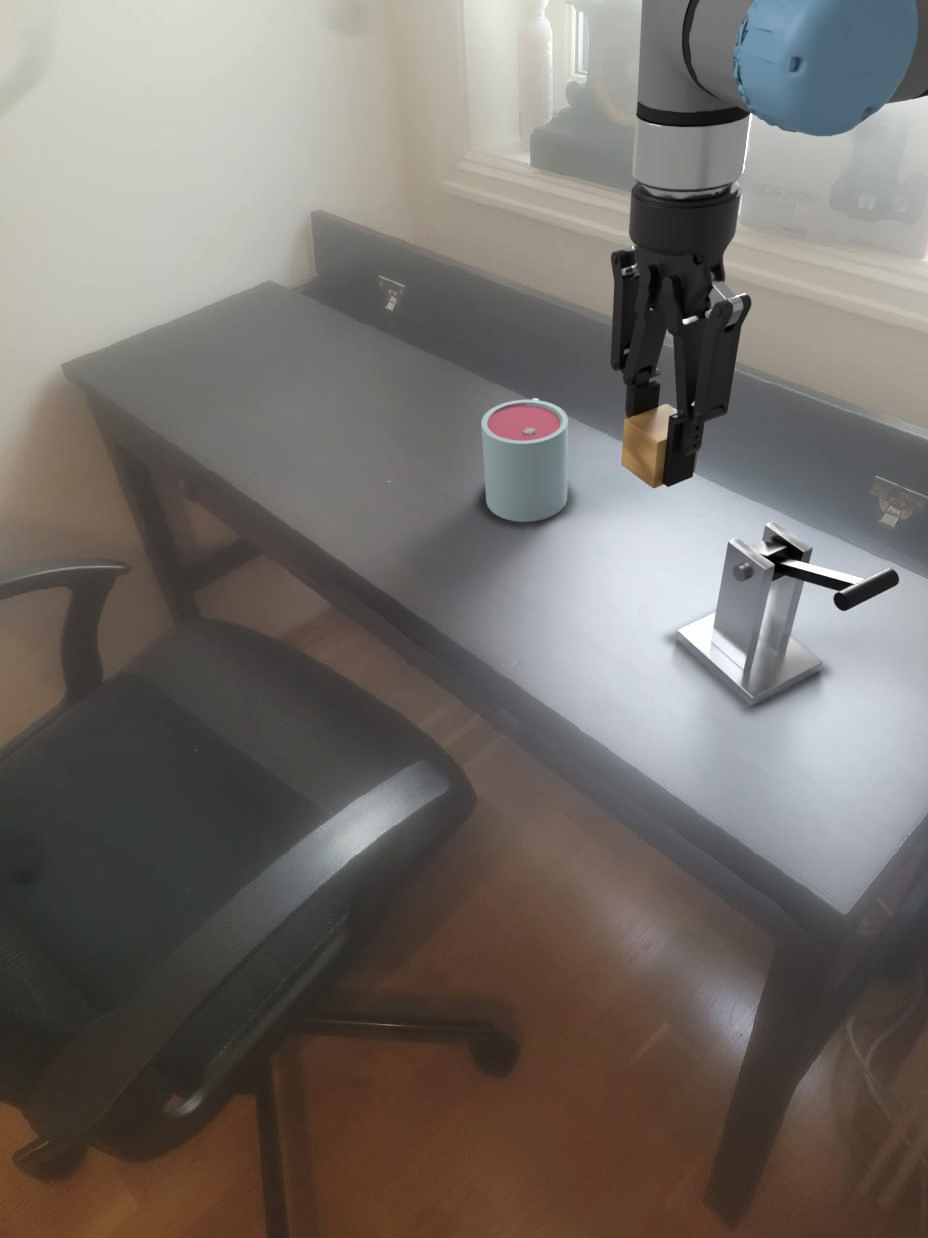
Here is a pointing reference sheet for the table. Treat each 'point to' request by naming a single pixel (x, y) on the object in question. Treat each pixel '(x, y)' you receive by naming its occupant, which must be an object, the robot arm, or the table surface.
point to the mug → (525, 459)
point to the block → (647, 444)
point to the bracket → (754, 622)
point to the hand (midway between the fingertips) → (658, 465)
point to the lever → (828, 577)
